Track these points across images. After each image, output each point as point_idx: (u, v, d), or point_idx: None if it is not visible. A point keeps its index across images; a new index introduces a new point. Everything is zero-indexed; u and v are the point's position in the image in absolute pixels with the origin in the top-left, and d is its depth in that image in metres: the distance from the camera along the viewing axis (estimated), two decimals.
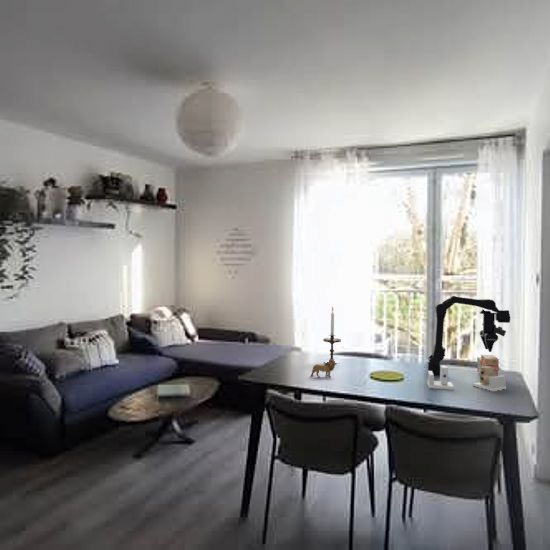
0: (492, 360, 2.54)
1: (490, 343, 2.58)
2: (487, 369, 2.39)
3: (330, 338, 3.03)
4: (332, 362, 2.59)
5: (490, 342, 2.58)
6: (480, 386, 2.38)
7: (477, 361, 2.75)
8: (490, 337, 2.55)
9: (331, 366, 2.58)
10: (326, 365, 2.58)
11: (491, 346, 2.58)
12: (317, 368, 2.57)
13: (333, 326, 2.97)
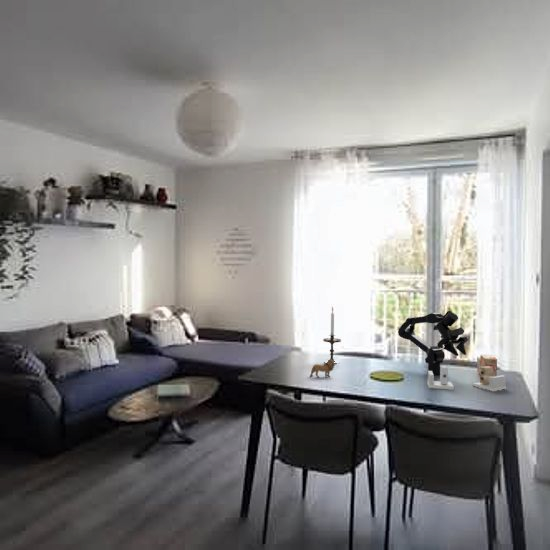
0: (490, 360, 2.54)
1: (451, 348, 2.55)
2: (487, 369, 2.39)
3: (330, 338, 3.03)
4: (331, 362, 2.59)
5: (450, 347, 2.55)
6: (480, 386, 2.38)
7: (477, 361, 2.75)
8: (439, 344, 2.55)
9: (330, 366, 2.58)
10: (325, 365, 2.58)
11: (454, 350, 2.54)
12: (316, 368, 2.57)
13: (333, 326, 2.97)
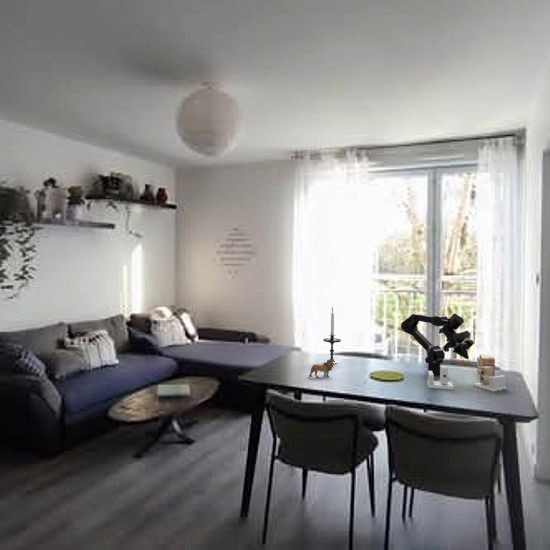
0: (488, 360, 2.54)
1: (460, 351, 2.53)
2: (487, 369, 2.39)
3: (330, 338, 3.03)
4: (330, 362, 2.59)
5: (460, 350, 2.53)
6: (480, 386, 2.38)
7: (477, 361, 2.75)
8: (445, 347, 2.52)
9: (329, 366, 2.58)
10: (324, 365, 2.58)
11: (463, 353, 2.52)
12: (315, 368, 2.56)
13: (333, 326, 2.97)
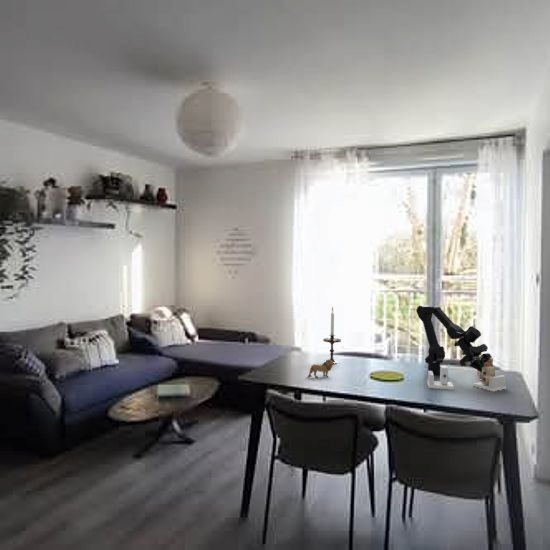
0: None
1: (477, 365, 2.44)
2: (489, 369, 2.38)
3: (330, 338, 3.03)
4: (329, 362, 2.59)
5: (477, 365, 2.44)
6: (480, 386, 2.38)
7: None
8: (462, 362, 2.43)
9: (329, 366, 2.58)
10: (324, 365, 2.58)
11: (481, 367, 2.43)
12: (315, 368, 2.56)
13: (333, 326, 2.97)
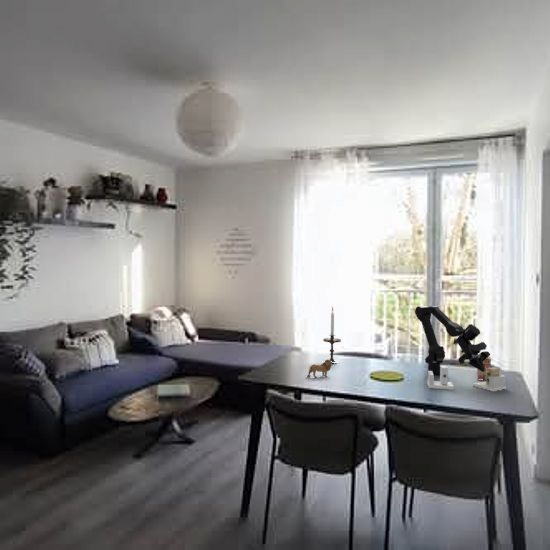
0: None
1: (476, 363, 2.45)
2: (493, 370, 2.36)
3: (330, 338, 3.03)
4: (329, 362, 2.59)
5: (475, 362, 2.45)
6: (480, 386, 2.38)
7: None
8: (461, 359, 2.43)
9: (328, 366, 2.58)
10: (323, 365, 2.58)
11: (479, 365, 2.43)
12: (314, 368, 2.56)
13: (333, 326, 2.97)
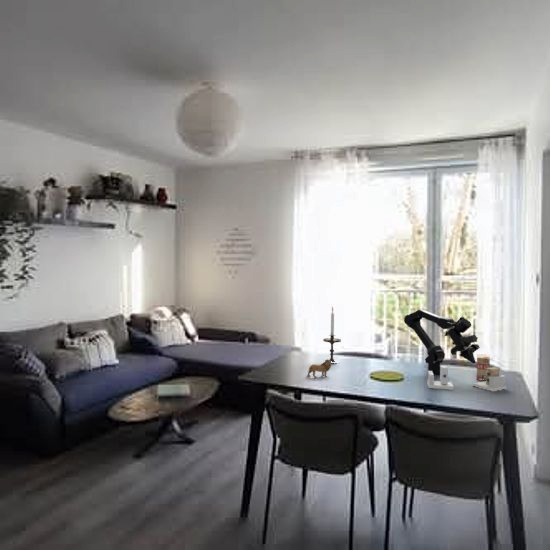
0: (483, 359, 2.56)
1: (467, 355, 2.51)
2: (493, 370, 2.36)
3: (330, 338, 3.03)
4: (328, 362, 2.59)
5: (466, 354, 2.51)
6: (480, 386, 2.38)
7: None
8: (453, 350, 2.49)
9: (327, 366, 2.58)
10: (322, 365, 2.58)
11: (470, 357, 2.50)
12: (313, 368, 2.56)
13: (333, 326, 2.97)
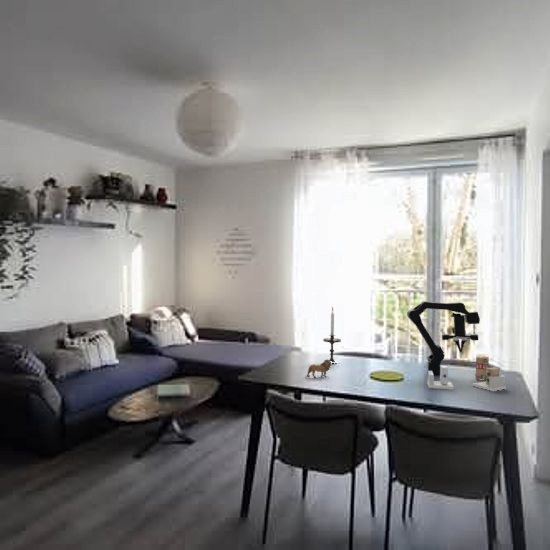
0: (482, 359, 2.56)
1: None
2: (493, 370, 2.36)
3: (330, 338, 3.03)
4: (328, 362, 2.59)
5: None
6: (480, 386, 2.38)
7: None
8: None
9: (327, 366, 2.58)
10: (322, 365, 2.58)
11: None
12: (313, 368, 2.56)
13: (333, 326, 2.97)
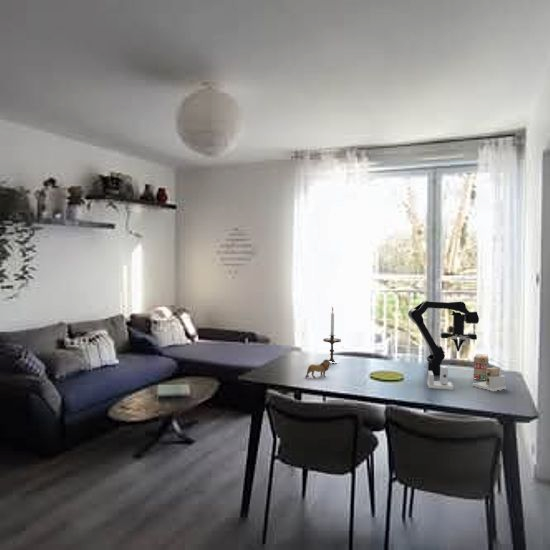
0: (480, 359, 2.57)
1: None
2: (493, 370, 2.36)
3: (330, 338, 3.03)
4: (327, 362, 2.59)
5: None
6: (480, 386, 2.38)
7: None
8: None
9: (326, 366, 2.58)
10: (321, 365, 2.58)
11: None
12: (312, 368, 2.56)
13: (333, 326, 2.97)
